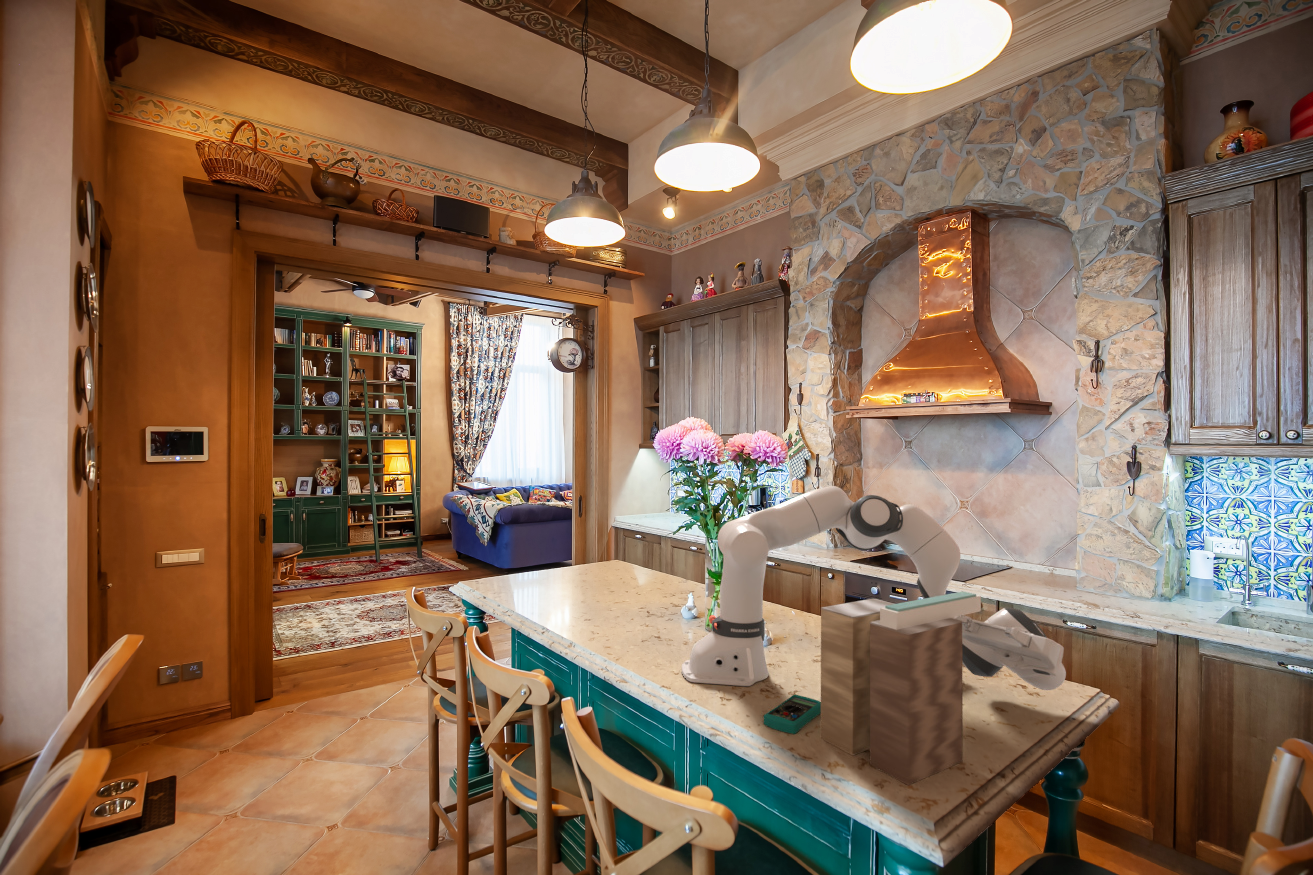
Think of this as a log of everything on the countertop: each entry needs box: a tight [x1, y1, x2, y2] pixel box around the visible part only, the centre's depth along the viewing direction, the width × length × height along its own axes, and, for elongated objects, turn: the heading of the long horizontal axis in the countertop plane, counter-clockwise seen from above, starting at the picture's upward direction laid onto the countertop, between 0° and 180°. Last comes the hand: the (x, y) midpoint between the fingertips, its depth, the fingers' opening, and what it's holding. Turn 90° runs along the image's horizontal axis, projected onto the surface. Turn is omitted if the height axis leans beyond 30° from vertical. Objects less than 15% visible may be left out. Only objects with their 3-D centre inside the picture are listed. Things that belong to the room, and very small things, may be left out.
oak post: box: [820, 598, 895, 756], centre depth 122 cm, size 16×8×26 cm, turn 122°
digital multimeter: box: [763, 694, 821, 735], centre depth 130 cm, size 7×15×3 cm, turn 141°
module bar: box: [880, 591, 982, 630], centre depth 115 cm, size 26×4×3 cm, turn 121°
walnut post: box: [869, 618, 964, 786], centre depth 112 cm, size 16×8×26 cm, turn 121°
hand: (985, 624), depth 124 cm, fingers open, 8 cm apart
